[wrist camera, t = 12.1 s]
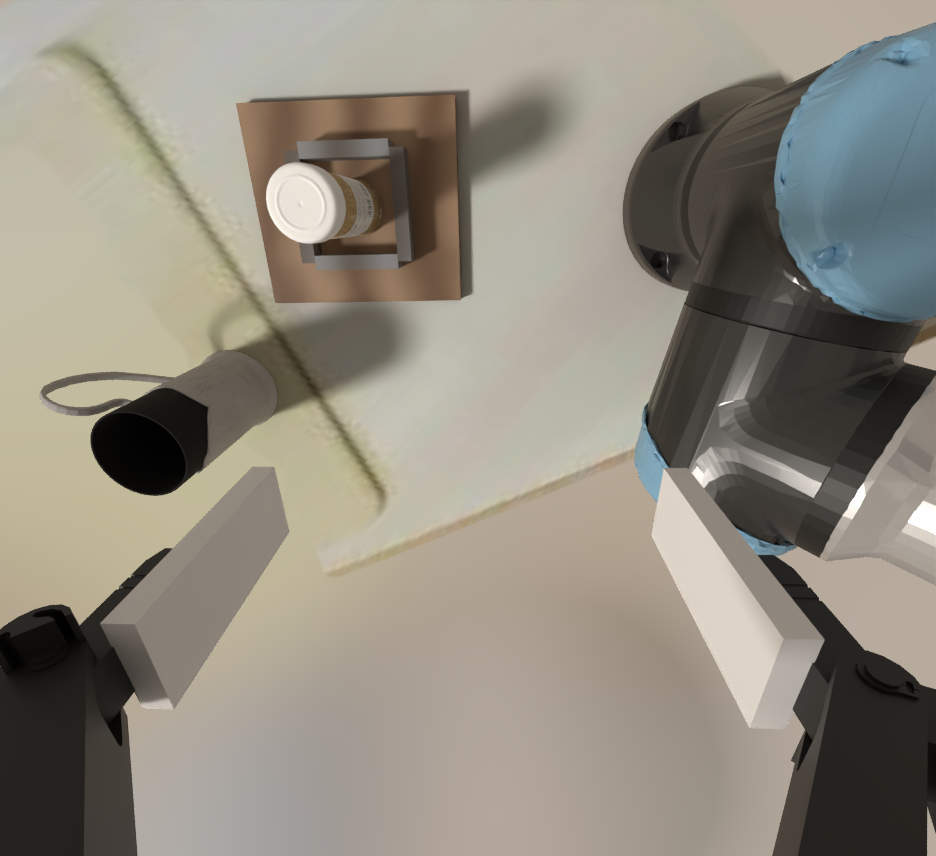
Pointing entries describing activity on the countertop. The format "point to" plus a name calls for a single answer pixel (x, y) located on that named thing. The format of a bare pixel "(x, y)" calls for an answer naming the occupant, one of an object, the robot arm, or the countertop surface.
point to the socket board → (388, 171)
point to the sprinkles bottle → (321, 204)
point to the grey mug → (175, 420)
